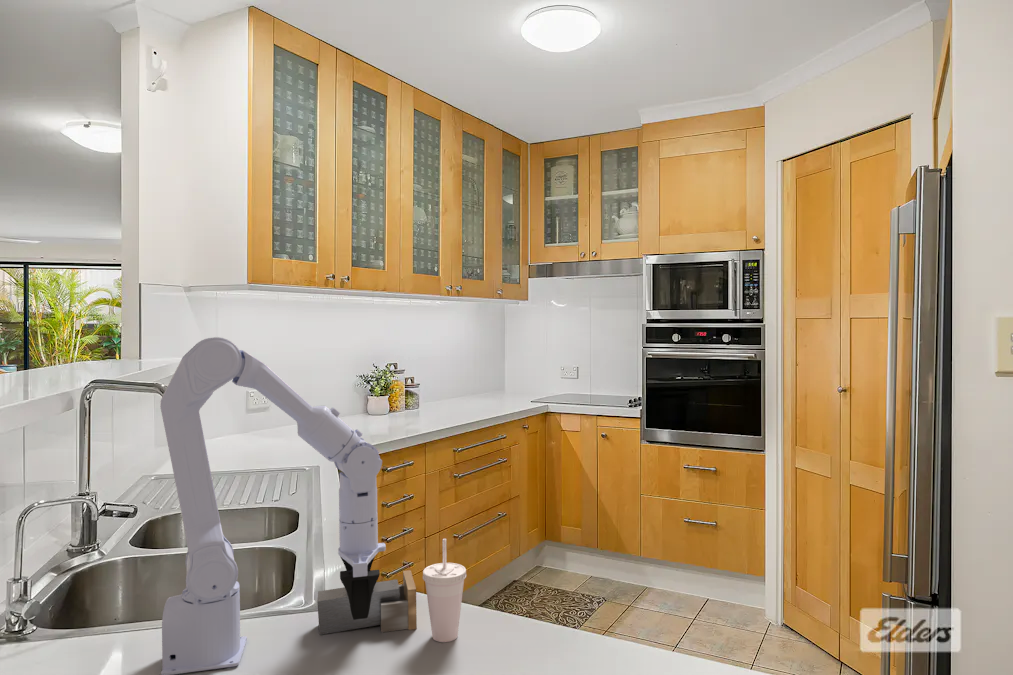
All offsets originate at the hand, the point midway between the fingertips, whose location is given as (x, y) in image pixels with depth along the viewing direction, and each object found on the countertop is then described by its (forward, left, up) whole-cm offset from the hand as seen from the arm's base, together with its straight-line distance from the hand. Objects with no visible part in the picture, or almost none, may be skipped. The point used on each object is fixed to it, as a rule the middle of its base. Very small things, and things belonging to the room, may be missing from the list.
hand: (359, 607), depth 97 cm
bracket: (+5, 0, -3) cm, 6 cm away
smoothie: (+12, -8, -3) cm, 14 cm away
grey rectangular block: (0, 0, -2) cm, 2 cm away
